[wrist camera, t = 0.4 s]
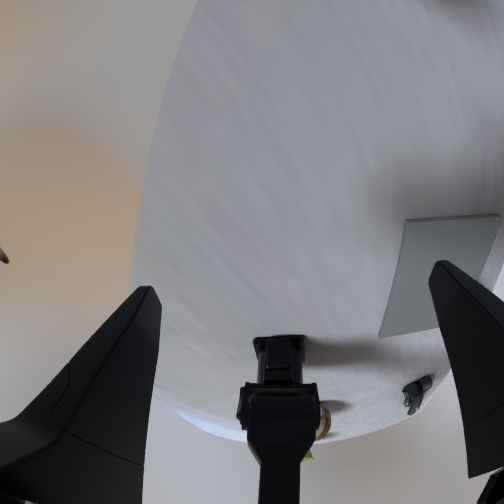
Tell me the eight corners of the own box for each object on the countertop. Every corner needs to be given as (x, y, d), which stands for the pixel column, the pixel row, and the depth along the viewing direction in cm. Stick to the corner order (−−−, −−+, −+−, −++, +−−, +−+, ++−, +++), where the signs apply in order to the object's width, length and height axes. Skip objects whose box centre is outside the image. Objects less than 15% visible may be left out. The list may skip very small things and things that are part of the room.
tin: (322, 397, 47) (325, 436, 41) (332, 400, 48) (334, 438, 42) (268, 415, 55) (267, 449, 48) (278, 418, 56) (277, 450, 49)
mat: (455, 320, 32) (456, 323, 31) (378, 334, 34) (379, 338, 33) (498, 214, 21) (501, 217, 20) (405, 219, 23) (408, 223, 22)
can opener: (401, 380, 44) (406, 405, 39) (433, 370, 42) (439, 394, 38) (394, 406, 54) (397, 426, 49) (419, 399, 52) (423, 418, 48)
